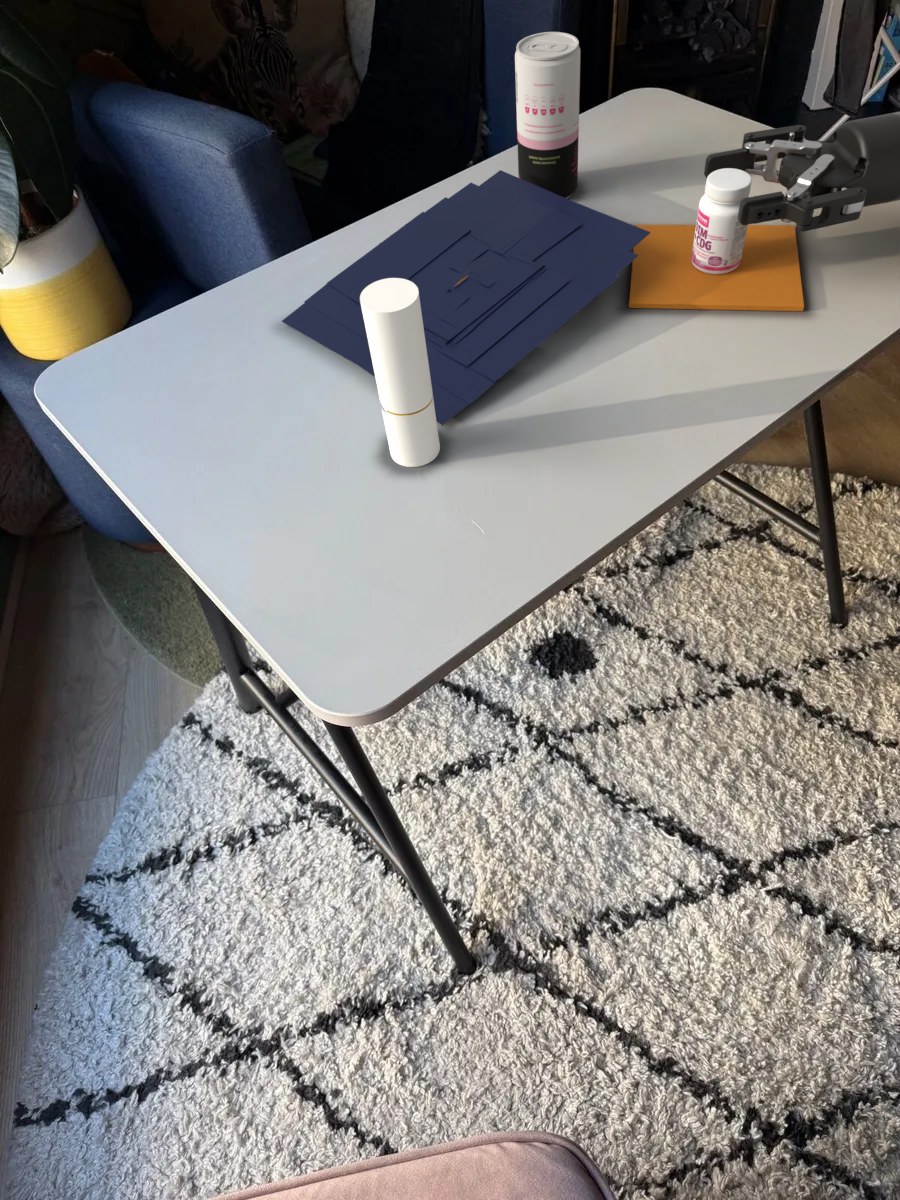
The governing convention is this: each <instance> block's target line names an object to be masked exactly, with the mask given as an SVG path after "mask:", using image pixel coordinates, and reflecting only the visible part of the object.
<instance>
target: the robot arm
mask: <svg viewBox="0 0 900 1200" xmlns="http://www.w3.org/2000/svg"><path fill="white" fill-rule="evenodd" d="M806 130H807V127H806V126H805V125H802V124H795V125H789V126H782V127H777V128H769V129H763V130H756V131H750V132H746V133H744V134H743V138H742V145H741V148H735V149H732V150H726V151H719V152H714V153H710V154H709V155H707V156H706V158H705V163H704V170H703V175H704V177H705V178H706V179H707V177H708V176H709V174H711V173H712V172H714V171H716V170H719V169H724V168H734V169H739V170H742V171H745V172H747V173H748V174H749V175H755V176H761V177H762V178H763V180H764V181H765V182H767V183H773V184H780V185H781V186H782V187H784V188H786V192H785V194H784V193H783V192H782V190H780V191H776V192H771V193H765V194H759V195H755V196H749V197H748V198H745V199H743V200H742V201H741V203H740V207H739V213H738V221H739V222H740V223H741V224H742V225H758V224H761V223H766V222H772V221H777V220H780V221H781V222H782V223H787V224H789V223H794V224H795V231H798V232H804V233H805V232H809V231H813V230H814V231H815V230H818V229H822V228H828V227H831V226H836V225H840V224H844V223H848V222H852V221H853V222H854V221H857V220H859V219H860V217H861V214H862V211H863V208H866V207H871V206H876V205H877V206H878V205H881V204H887V203H893V202H898V201H900V111H896V112H890V113H885V114H880V115H873V116H869V117H864V118H858V119H852V120H848V121H846V122H844V123H842V124H841V125H839V126H838V127H837V128H836V130H835V131H834V132H833V133H832V134H831V135H830V136H829V137H828V138H827V139H826V140H807V138H805V135H806ZM762 142H763V143H762ZM779 159H781V161H780V165H779V170H778V169H777V163H778V160H779ZM760 162H766V163H765V164H763V163H760ZM818 209H821V211H820V213H819V215H816V216H814V212H815V210H818Z"/></svg>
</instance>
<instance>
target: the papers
mask: <svg viewBox="0 0 900 1200" xmlns="http://www.w3.org/2000/svg"><path fill="white" fill-rule="evenodd" d="M650 233H651V232H649V231H646V230H644V229H641V228H639V227H636V226H635V224H634V225H633V224H631V223H628V222H626V221H623V220H621V219H619V218H616V217H613V216H611V215H609V214H606V213H604V212H601V211H598V210H596V209H593V208H591V207H588V206H586V205H584V204H581V203H578V202H576V201H573V200H571V199H569V198H568V199H566V198H564V197H562V196H559V195H557V194H555V193H552V192H550V191H548V190H545V189H543V188H541V187H538V186H536V185H534V184H532V183H529V182H527V181H525V180H522V179H520V178H519V176H515V175H513V174H511V173H508V172H506V171H504V170H501V169H500V170H498V171H497V172H495V173H494V174H492V176H490V177H488V178H487V179H486V180H484V181H483V182H482V183H480V184H479V185H478V184H476V183H473V182H469V183H468V184H467V185H465V186H464V187H462V188H461V189H460V190H458V191H457V192H455V193H453V194H452V195H451V196H450V197H443V198H442V199H441V200H439V201H438V202H437V203H435V204H434V205H433V206H431V207H430V208H428V209H427V210H426V211H421V212H420V213H419V214H418V215H416V216H415V217H413V218H412V219H411V220H410V221H407V223H405V224H404V225H402V226H401V227H400V228H399V229H397V230H395V232H393V233H392V234H391V235H389V236H388V237H386V239H384V240H383V241H381V242H380V243H378V244H377V245H376V246H374V247H373V248H372V249H370V250H369V251H368V252H367V253H365V254H364V255H362V256H361V257H359V259H356V261H354V262H353V263H351V264H350V265H349V266H347V267H346V268H345V269H344V270H342V271H340V272H339V273H338V274H337V275H335V276H334V277H333V278H331V279H330V280H328V282H326V284H324V285H323V286H322V287H321V288H320V289H318V290H317V291H316V292H314V293H313V294H312V295H311V296H309V297H308V298H307V299H305V301H304V302H303V303H302V304H301V305H300V306H298V307H297V308H296V309H295V310H293V311H292V312H291V313H290V314H289V315H287V316H286V317H285V318H283V319H282V320H281V322H282V323H284V324H285V325H287V326H289V327H290V328H292V329H294V330H295V331H298V332H300V334H303V335H304V336H306V337H308V338H310V339H311V340H313V341H314V342H316V343H317V344H320V345H322V346H323V347H325V348H327V349H328V350H330V351H332V352H334V353H336V354H337V355H339V356H341V357H342V358H344V359H346V360H348V361H349V362H352V363H353V364H354V365H357V366H358V367H360V368H361V369H363V370H364V371H366V373H369V375H371V376H373V378H375V373H374V368H373V363H372V358H371V353H370V348H369V343H368V338H367V333H366V328H365V323H364V318H363V313H362V308H361V303H360V295H361V293H362V291H363V290H364V289H365V288H366V287H367V286H368V285H370V284H372V283H373V282H376V281H378V280H382V279H387V278H402V279H406V280H409V281H411V282H413V283H414V284H415V285H416V286H417V288H418V291H419V298H420V305H421V312H422V320H423V327H424V334H425V341H426V349H427V356H428V363H429V370H430V378H431V385H432V392H433V400H434V407H435V414H436V422H437V424H439V425H441V426H444V425H445V424H446V423H447V422H449V421H450V420H451V419H452V418H453V417H455V416H456V415H457V414H459V413H460V412H461V411H463V410H464V409H465V408H466V407H468V406H469V405H472V403H474V402H476V400H477V399H478V398H479V397H481V396H482V395H483V394H484V393H485V392H487V391H488V390H489V389H490V388H491V387H493V385H495V384H496V383H498V381H499V380H501V378H502V377H503V376H504V375H505V374H506V373H508V372H509V371H510V370H511V369H512V368H513V367H515V366H516V365H517V364H518V363H519V362H521V361H522V360H524V358H526V357H527V356H528V355H529V354H530V353H531V352H532V351H534V350H535V349H536V348H537V347H538V346H540V345H541V344H542V343H543V342H544V341H545V340H546V339H548V338H549V337H550V336H551V335H553V334H554V333H555V332H556V331H557V330H559V329H560V328H561V327H562V326H563V325H564V324H566V323H567V322H568V321H569V320H570V319H571V318H572V317H574V316H575V315H576V314H578V313H579V312H580V311H581V310H583V308H585V306H587V305H588V304H589V303H591V302H592V301H594V300H595V299H596V298H597V297H599V296H600V295H601V294H602V293H603V292H604V291H605V290H606V289H608V287H610V286H611V285H612V284H613V283H615V282H616V280H618V279H619V278H620V276H619V275H618V274H619V273H621V272H622V271H623V270H625V268H626V267H627V266H628V265H630V264H632V261H633V260H634V259H635V258H636V257H637V256H639V255H637V254H634V253H633V251H631V250H633V248H634V247H635V246H636V245H637V244H638V243H640V242H641V241H642V240H643V239H644V238H645V237H647V236H648V235H649V234H650Z"/></svg>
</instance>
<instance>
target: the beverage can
mask: <svg viewBox="0 0 900 1200" xmlns="http://www.w3.org/2000/svg"><path fill="white" fill-rule="evenodd" d="M579 44H580V42H579V39H578V38H577V37H576V36H575V35H573V34H570V33H567V32H561V31H544V32H538V33H534V34H531V35H528V36H526V37H523V38H522V39H520V40H519V41H518V42H517V44H516V47H515V48H516V50H515V53H514V71H515V72H514V73H515V99H516V100H515V104H516V105H515V107H516V135H517V136H516V139H517V141H516V142H517V168H518V170H517V171H518V178H520V179H522V180H525V181H527V182H529V183H532V184H534V185H536V186H538V187H541V188H543V189H545V190H548V191H550V192H552V193H555V194H557V195H559V196H562V197H564V198H566V199H569V198H570V197H571V196H572V195H574V194H575V192H576V191H577V189H578V182H579V181H578V174H579V171H578V170H579V133H580V129H579V128H580V94H581V93H580V92H581V91H580V90H581V89H580V88H581V47H580V45H579Z"/></svg>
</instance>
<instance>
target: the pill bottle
mask: <svg viewBox="0 0 900 1200" xmlns="http://www.w3.org/2000/svg"><path fill="white" fill-rule="evenodd" d="M752 180H753V178H752V177H751V174H748V173H747V172H745V171H742V170H739V169H734V168H724V169H719V170H716V171H714V172H712V173H711V174H709V176H708V177H707V178H706V182H705V187H704V194H702V196H701V198H700V200H699V203H698V208H697V216H696V222H695V225H696V229H695V236H694V243H693V249H692V257H691V260H692V264H693V265H694V267H695V268H697V269H698V270H700V271H702V272H704V273H708V274H715V275H717V274H725V273H728V272H731V271H733V270H734V269H736V268H737V267H738V266H739V264H740V262H741V258H742V253H743V248H744V242H745V237H746V232H747V227H748V225H742V224H741V223H740V222H739V221H738V213H739V207H740V203H741V201H742V200H743V199H745V198H748V197H750V194H751V189H752V182H753V181H752Z"/></svg>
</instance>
